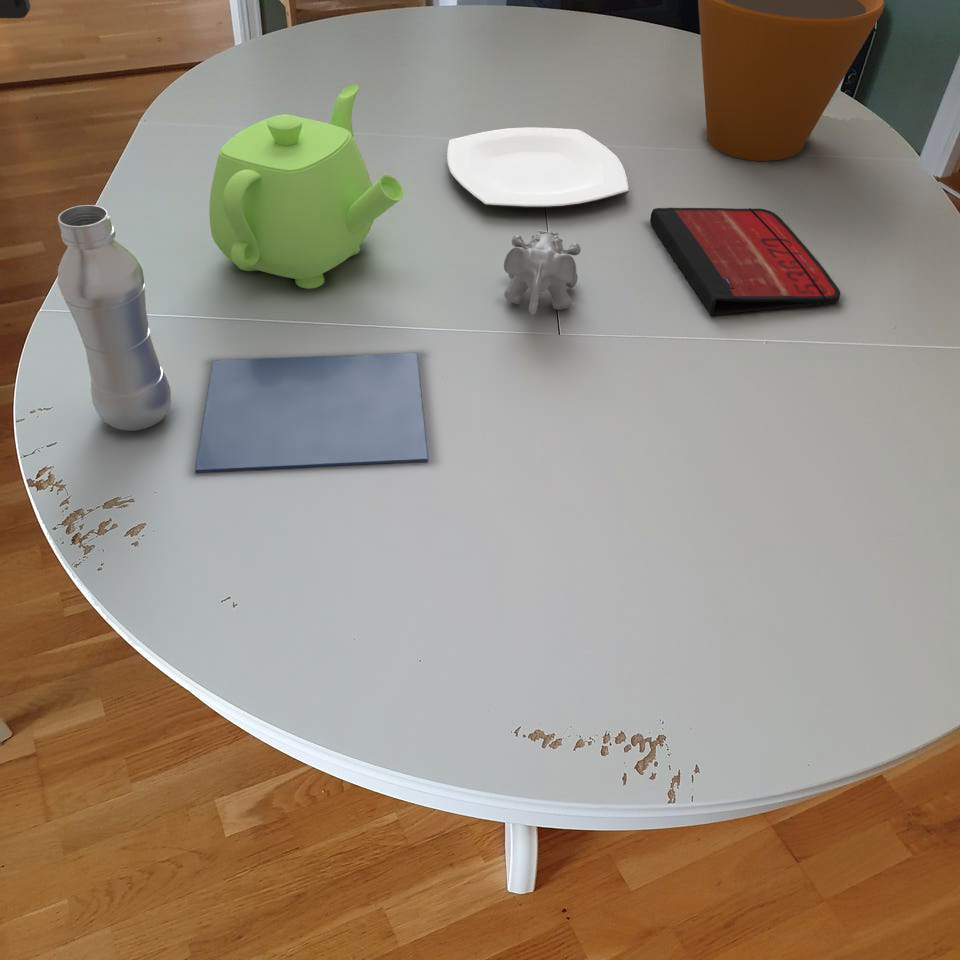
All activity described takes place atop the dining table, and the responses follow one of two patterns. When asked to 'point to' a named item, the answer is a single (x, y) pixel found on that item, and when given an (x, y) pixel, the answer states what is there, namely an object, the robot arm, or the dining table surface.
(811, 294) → the notebook
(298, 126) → the teapot
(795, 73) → the flower pot
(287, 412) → the flat rectangular board
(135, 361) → the silver metal bottle
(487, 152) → the plate
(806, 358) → the dining table surface
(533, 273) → the gray elephant figurine
